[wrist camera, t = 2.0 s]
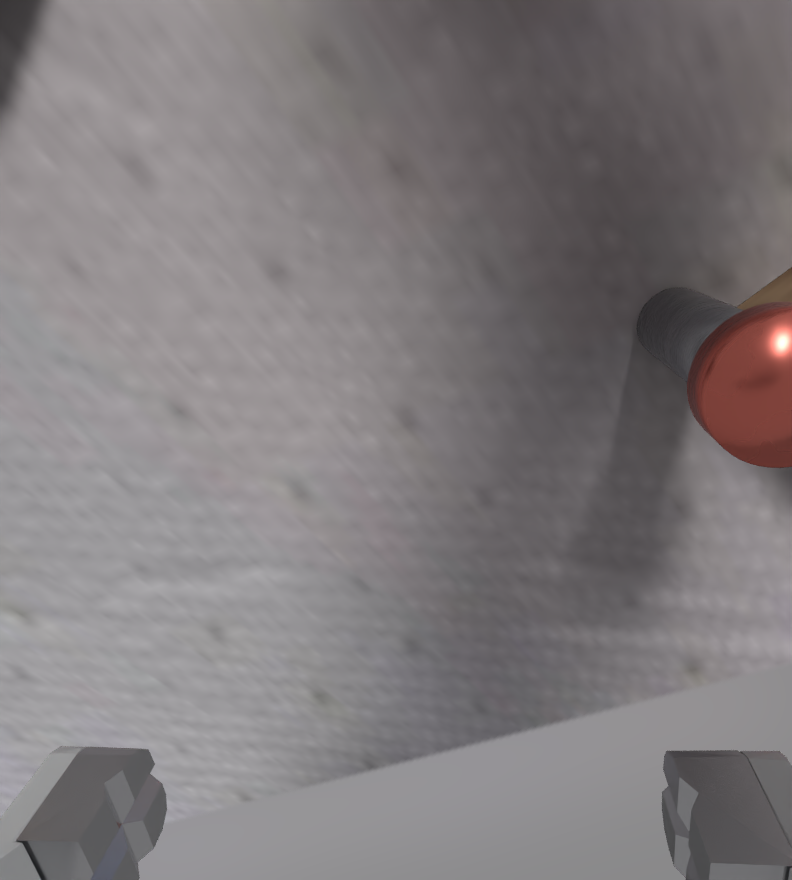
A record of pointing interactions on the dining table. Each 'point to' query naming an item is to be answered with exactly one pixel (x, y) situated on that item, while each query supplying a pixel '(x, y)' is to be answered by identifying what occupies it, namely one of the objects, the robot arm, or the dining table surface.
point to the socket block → (772, 292)
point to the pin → (729, 368)
